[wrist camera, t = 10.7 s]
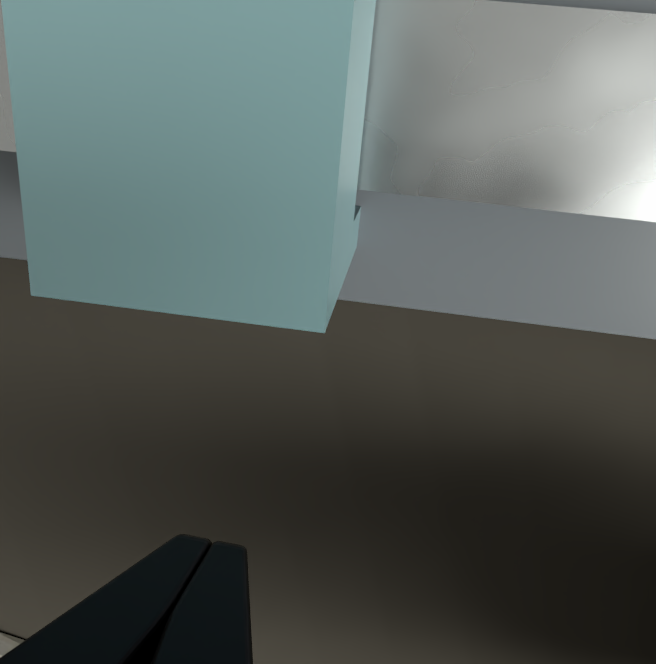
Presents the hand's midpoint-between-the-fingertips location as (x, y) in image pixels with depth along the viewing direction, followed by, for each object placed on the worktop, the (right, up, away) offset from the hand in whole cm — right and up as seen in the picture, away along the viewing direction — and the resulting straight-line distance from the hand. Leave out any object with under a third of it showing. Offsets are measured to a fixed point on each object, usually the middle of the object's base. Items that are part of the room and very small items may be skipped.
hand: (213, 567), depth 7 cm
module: (0, +9, +7) cm, 11 cm away
